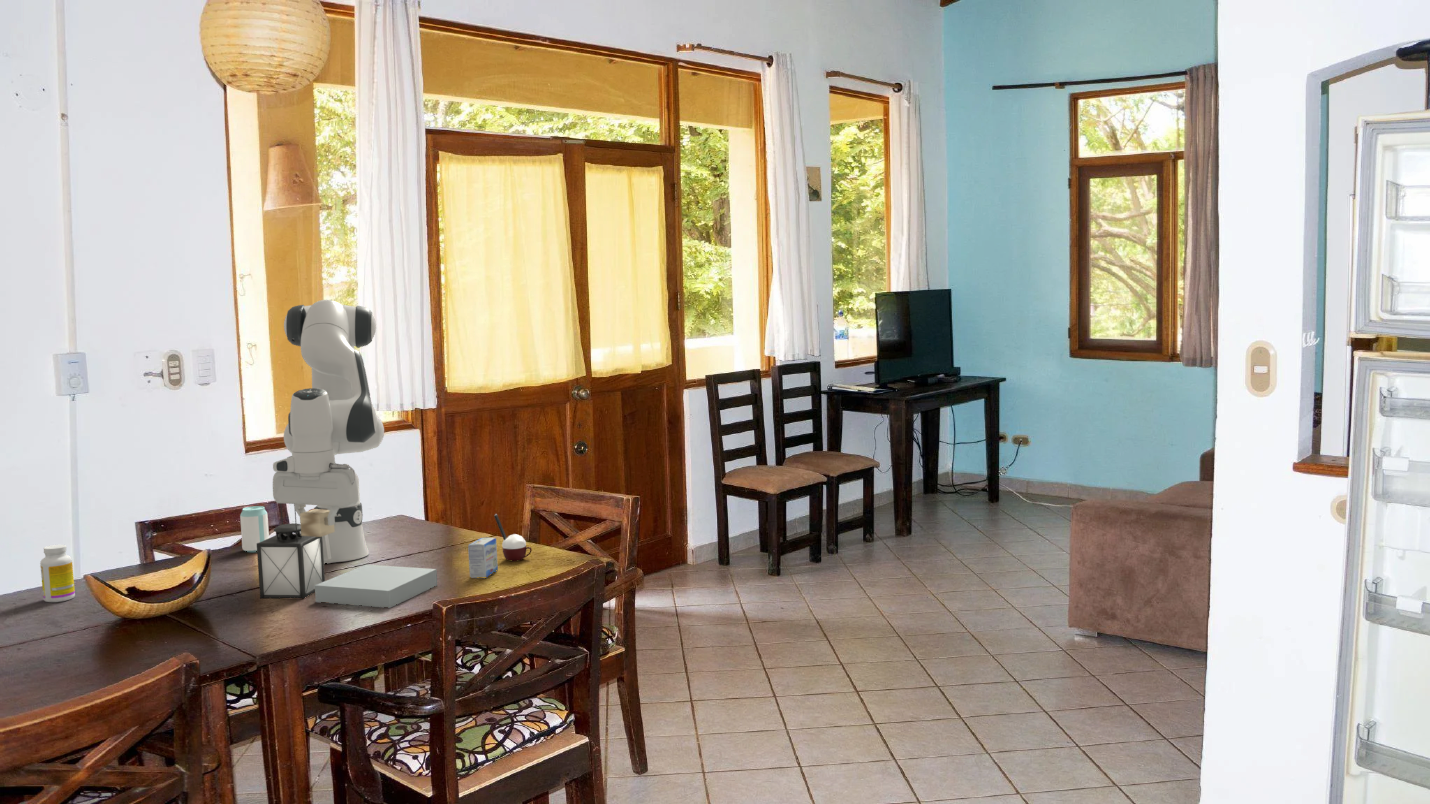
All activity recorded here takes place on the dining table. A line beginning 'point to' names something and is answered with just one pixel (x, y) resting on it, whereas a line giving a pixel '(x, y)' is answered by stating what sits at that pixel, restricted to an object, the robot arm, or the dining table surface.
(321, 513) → the maple cube
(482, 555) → the medicine box
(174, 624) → the dining table surface
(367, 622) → the dining table surface
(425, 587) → the stand
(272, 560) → the lantern
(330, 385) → the robot arm
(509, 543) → the cocoa
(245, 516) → the can
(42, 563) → the supplement bottle
